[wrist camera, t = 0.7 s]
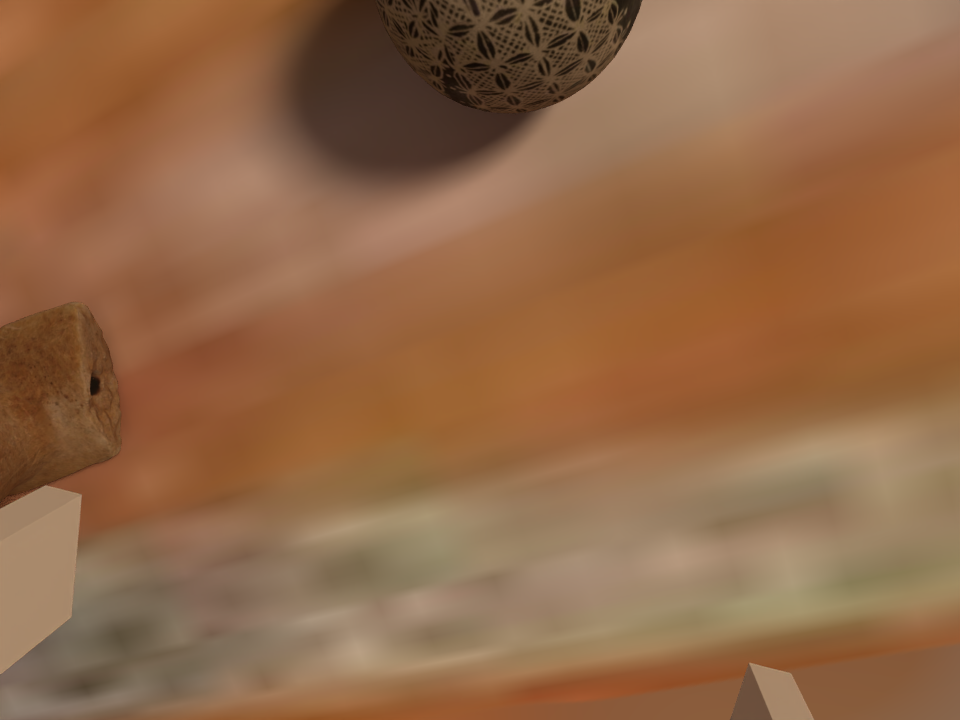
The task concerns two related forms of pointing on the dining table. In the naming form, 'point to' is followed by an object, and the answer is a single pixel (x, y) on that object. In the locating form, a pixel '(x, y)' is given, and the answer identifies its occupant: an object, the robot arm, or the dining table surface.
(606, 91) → the dining table surface
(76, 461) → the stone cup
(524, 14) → the decorative egg
